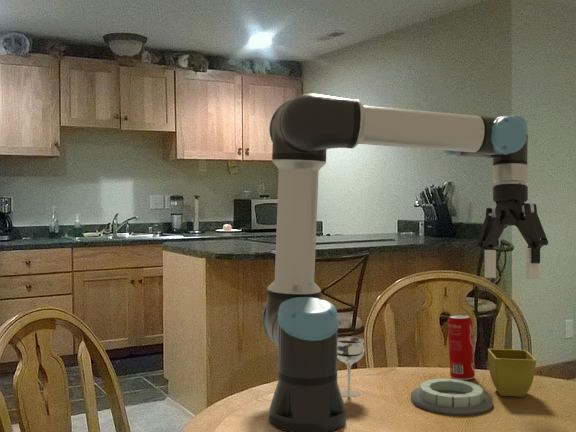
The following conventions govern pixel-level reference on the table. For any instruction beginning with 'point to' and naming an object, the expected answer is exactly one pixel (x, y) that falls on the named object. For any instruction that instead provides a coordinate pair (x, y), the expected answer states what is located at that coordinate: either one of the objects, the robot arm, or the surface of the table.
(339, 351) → the wineglass
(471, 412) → the can tray
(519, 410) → the table surface
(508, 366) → the flower pot
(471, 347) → the beverage can
